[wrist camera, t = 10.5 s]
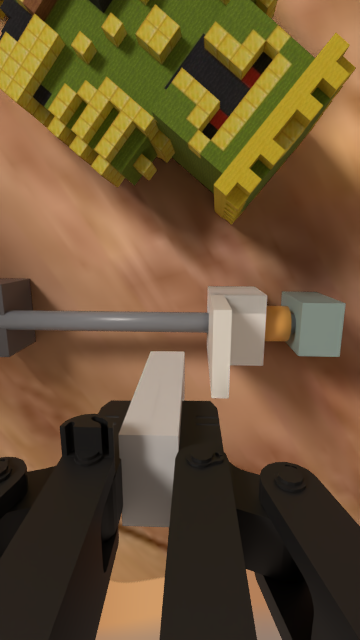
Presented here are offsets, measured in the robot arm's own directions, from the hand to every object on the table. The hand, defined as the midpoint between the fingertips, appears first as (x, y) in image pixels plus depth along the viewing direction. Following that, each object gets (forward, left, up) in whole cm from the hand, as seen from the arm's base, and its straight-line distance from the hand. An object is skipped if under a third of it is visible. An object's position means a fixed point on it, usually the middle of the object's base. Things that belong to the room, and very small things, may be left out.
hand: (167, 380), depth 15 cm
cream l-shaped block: (+4, 0, -15) cm, 15 cm away
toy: (-5, +21, -17) cm, 27 cm away
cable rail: (-3, 0, -16) cm, 16 cm away
